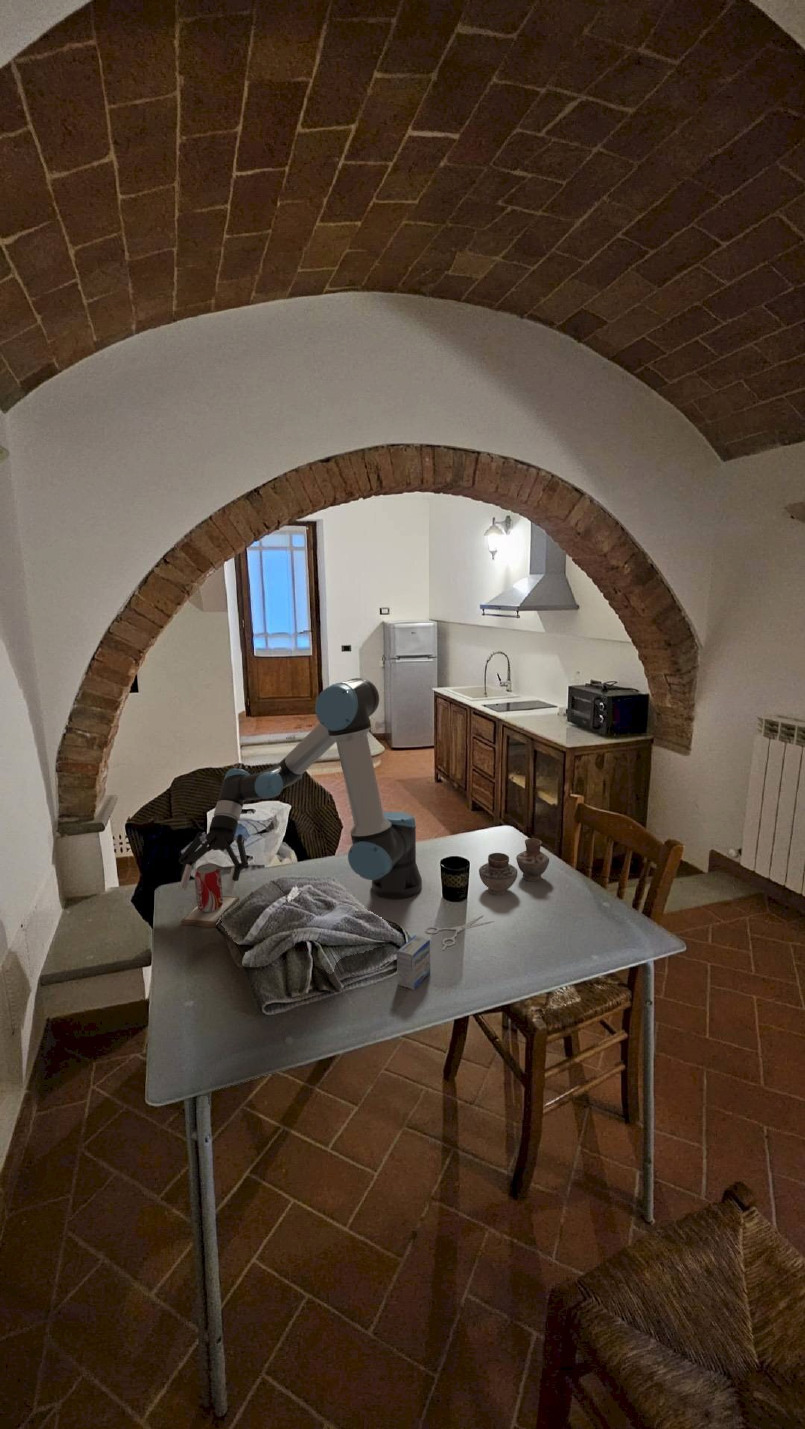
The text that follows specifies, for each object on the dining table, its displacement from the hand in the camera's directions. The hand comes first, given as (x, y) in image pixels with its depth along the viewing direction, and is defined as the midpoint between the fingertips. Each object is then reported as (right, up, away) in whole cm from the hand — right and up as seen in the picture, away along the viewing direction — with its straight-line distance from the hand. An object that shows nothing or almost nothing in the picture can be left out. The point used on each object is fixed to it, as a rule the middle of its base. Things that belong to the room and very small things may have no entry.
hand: (205, 890), depth 171 cm
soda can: (0, -6, +4) cm, 7 cm away
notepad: (+1, -7, +4) cm, 8 cm away
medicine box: (+57, -13, -28) cm, 65 cm away
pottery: (+88, -3, +18) cm, 90 cm away
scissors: (+70, -9, -7) cm, 71 cm away
